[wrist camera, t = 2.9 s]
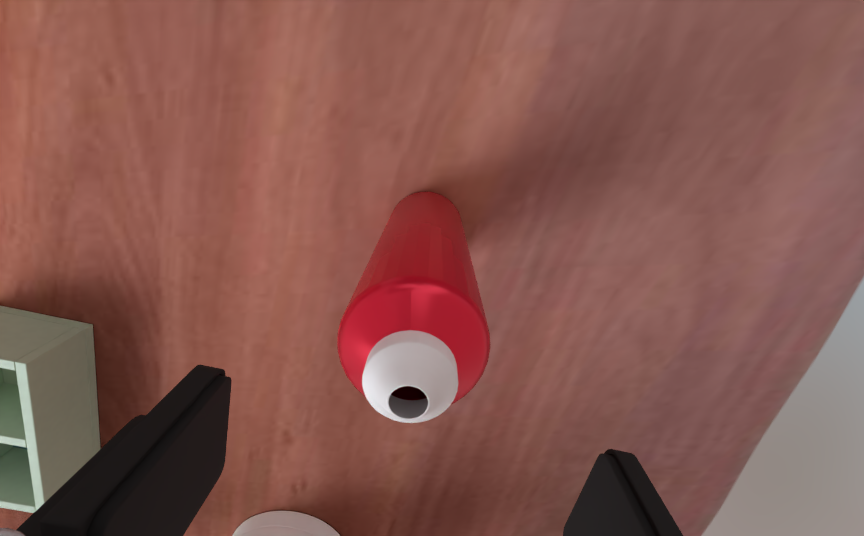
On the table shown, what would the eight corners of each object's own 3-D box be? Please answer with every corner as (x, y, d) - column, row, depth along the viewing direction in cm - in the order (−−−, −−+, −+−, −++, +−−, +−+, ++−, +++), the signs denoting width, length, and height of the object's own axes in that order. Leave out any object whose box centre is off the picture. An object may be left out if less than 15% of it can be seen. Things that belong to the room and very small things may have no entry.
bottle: (435, 176, 29) (433, 279, 10) (475, 237, 30) (538, 424, 12) (375, 217, 30) (272, 380, 11) (416, 274, 31) (387, 500, 13)
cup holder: (15, 444, 38) (-56, 498, 32) (-7, 303, 33) (-96, 340, 27) (101, 459, 38) (46, 515, 33) (92, 324, 33) (25, 363, 28)
